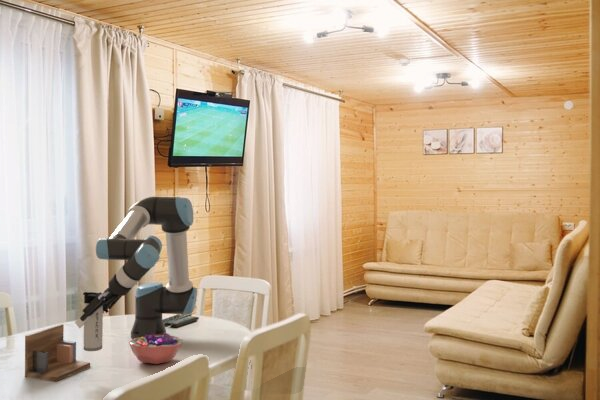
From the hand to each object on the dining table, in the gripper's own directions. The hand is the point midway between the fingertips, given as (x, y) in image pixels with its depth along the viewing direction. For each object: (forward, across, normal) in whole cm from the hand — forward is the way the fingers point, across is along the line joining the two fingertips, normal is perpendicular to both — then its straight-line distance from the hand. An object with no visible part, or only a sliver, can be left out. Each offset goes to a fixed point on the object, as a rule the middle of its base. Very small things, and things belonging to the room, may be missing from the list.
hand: (84, 322), depth 218 cm
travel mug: (+4, 0, -9) cm, 10 cm away
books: (+22, +8, -2) cm, 24 cm away
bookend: (+22, -7, -2) cm, 23 cm away
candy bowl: (+4, +24, -24) cm, 34 cm away
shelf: (+21, +1, -6) cm, 22 cm away
